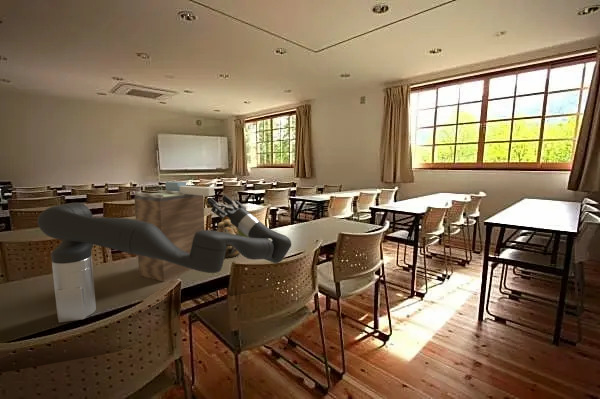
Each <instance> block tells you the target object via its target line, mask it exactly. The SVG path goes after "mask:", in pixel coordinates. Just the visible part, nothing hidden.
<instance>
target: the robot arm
mask: <svg viewBox="0 0 600 399" xmlns="http://www.w3.org/2000/svg"><path fill="white" fill-rule="evenodd" d="M222 201H223V202H224V203H226V204H224V203H223V204H221V203H219V202H217V201H216V200H214V198H212V197H209V198H208V199H207V203H208V204H209V205H210V206H211V210H210V211H212V213H213V214H215V215H216V216H217V217H218V218H220V219H222V220H225V217H227V218H228V219H229V220H230V221H231V223H232V224H233V225H234V226H235V227H236V228H237V230H238V229H239V230H240V231H241V232H242V233H244V234H245V235H247V236H248V237H244V236H240V235H239V234H237V235H235V234H230V233H224V232H218V231H217V230H210V229H209V230H208V229H204V230H200V231H198V232H196V233H195V235H194V238H193V242H192V247H191V251H190V253H187V252H185V251H183V250H181V249H180V248H178V247H177V246H175V245H174V244H173V243H172V242H171V241H170V240H169V239H168V238H167V237H166V235H165V234H164V233H163V232H162V231H161V230H160V229H159V228H158V227H156V226H155V225H153V224H151V223H148V222H143V221H139V220H136V219H133V218H126V217H125V218H124V217H93V213H92V211H91V210H90V208H89V206H87V205H86V204H85V203H81V202H71V203H64V204H59V205H54V206H51V207H48V208H46V209H44V210H43V211H42V212H40V213H39V215H38V217H37V227H38V228H39V229H40V230H41V231H42V233H43V234H45V235H46V236H48V237H50V238H52V239H56V240H61V242H60V243H59V244H58V245H57V247H56V248H55V249H53V250H52V251H51V254H50V257H51V265H52V266H51V268H52V277H53V287H54V296H55V305H56V307H55V308H56V314H57V320H58V323H66V322H73V321H74V322H75V321H79V320H84V319H86V318H87V317H89V316H90V315H92V314H93V313H95V312H96V311H97V306H96V295H95V294H96V293H95V292H96V291H95V282H94V268H93V258H92V257H93V256H92V249H93V247H94V245H95V246H97V247H101V248H102V247H103V248H108V249H111V250H116V251H120V252H123V253H128V254H132V255H136V256H138V255H141V256H146V257H151V258H155V259H160V260H164V261H167V262H171V263H174V264H177V265H180V266H184V267H187V268H190V269H192V270H193V271H197V272H201V273H202V272H203V273H205V274H206V273H207V274H215V273H216V274H217V273H220V271H221V270H222V268H223V265H224V259H225V258H224V257H225V253H226V248H227V244H230V245H232V246H233V247H234V248H236V249H237V250H238V252H239V253H240V254H239V255H242V256H243V258H246V259H249V260H265V261H268V262H271V263H273V264H279V263H281V262H283V259H284V258H285V257H286V255H287V254H288V252H289V251H290V249H291V248H292V241H291V239H290V238H289V237H288V236H286V235H284V234H282V233H279V232H277V231H274V230H273V229H271V228H269V227H268V226H266V225H265V224H264V223H262V222H261V221H260V220H259V219H258V218H257V217H256V216H255V215H254V214H252V212H249V211H248V210H247V207H245V205H243V204H242V203H241V202H240V201H238V200H233V199H232V198H229V197H228V196H227V195H223V197H222ZM249 237H250V238H249Z"/></svg>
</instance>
